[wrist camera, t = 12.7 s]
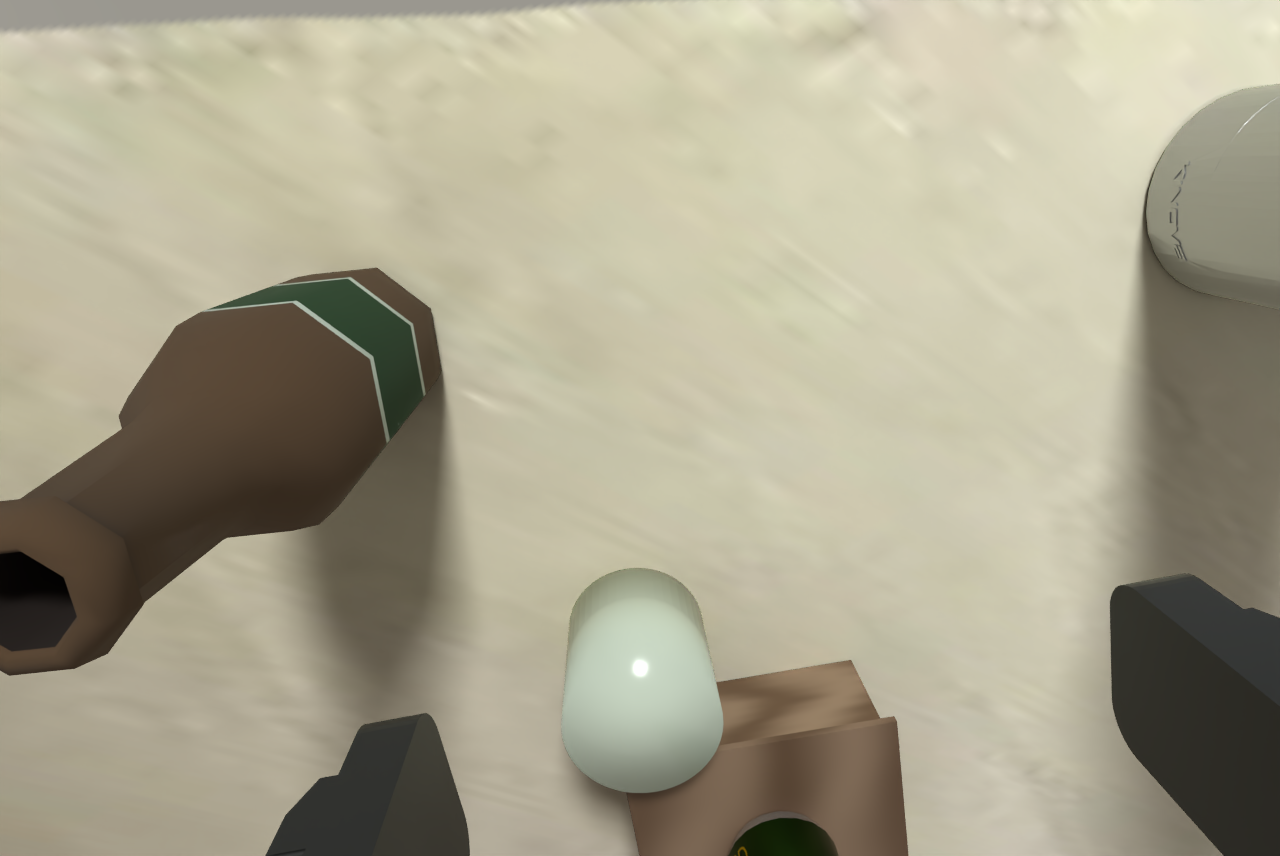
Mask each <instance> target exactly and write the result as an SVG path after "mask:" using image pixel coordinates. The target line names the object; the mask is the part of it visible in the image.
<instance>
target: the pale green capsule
mask: <svg viewBox="0 0 1280 856" xmlns="http://www.w3.org/2000/svg"><path fill="white" fill-rule="evenodd" d="M722 732H723V712H722V707H721V703H720V698H719V693H718V689H717V684H716V680H715V675H714V670H713V666H712V661H711V656H710V652H709V647H708V643H707V638H706V633H705V629H704V624H703V620H702V615H701V611H700V608H699V606H698V603H697V601H696V600H695V598H694V596H693V595H692V594H691V592H690V591H689V590H688V589H687V588H686V587H685V586H684V585H683V584H682V583H681V582H679V581H678V580H676V579H675V578H673V577H671V576H669V575H667V574H665V573H662V572H660V571H656V570H652V569H645V568H630V569H623V570H619V571H615V572H612V573H609V574H607V575H605V576H603V577H601V578H599V579H598V580H596V581H595V582H593V583H592V584H591V585H590V586H588V587H587V588H586V589H585V590H584V592H583V593H582V594H581V595H580V597H579V598H578V600H577V601H576V603H575V605H574V607H573V609H572V613H571V616H570V622H569V632H568V645H567V658H566V671H565V684H564V697H563V709H562V737H563V742H564V745H565V748H566V750H567V752H568V754H569V756H570V758H571V759H572V761H573V762H574V764H575V765H576V766H577V767H578V768H579V769H580V770H581V771H582V772H583V773H584V774H585V775H587V776H588V777H589V778H591V779H592V780H594V781H595V782H597V783H599V784H601V785H603V786H605V787H608V788H611V789H614V790H618V791H623V792H630V793H650V792H657V791H662V790H666V789H669V788H672V787H675V786H677V785H679V784H681V783H683V782H685V781H687V780H689V779H690V778H692V777H693V776H695V775H696V774H697V773H698V772H700V771H701V770H702V769H703V768H704V767H705V766H706V765H707V764H708V762H709V761H710V760H711V758H712V757H713V755H714V754H715V752H716V750H717V748H718V746H719V743H720V740H721V737H722Z"/></svg>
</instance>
